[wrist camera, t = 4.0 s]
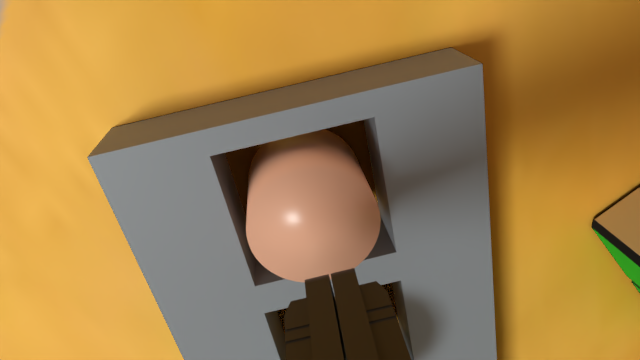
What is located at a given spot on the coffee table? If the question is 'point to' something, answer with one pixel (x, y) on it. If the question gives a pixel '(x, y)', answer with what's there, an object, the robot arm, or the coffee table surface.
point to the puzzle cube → (623, 234)
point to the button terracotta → (309, 207)
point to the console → (392, 195)
